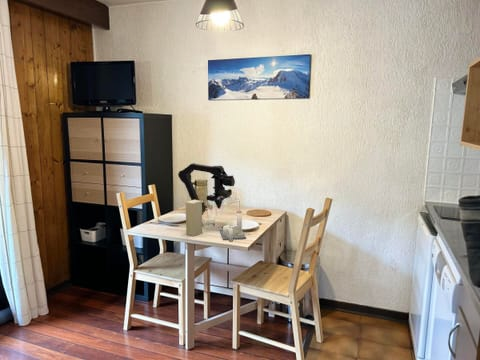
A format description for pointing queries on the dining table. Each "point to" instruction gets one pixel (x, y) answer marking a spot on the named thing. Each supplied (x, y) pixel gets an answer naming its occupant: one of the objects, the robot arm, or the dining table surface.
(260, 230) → the dining table surface
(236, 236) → the board
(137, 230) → the dining table surface
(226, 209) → the dining table surface
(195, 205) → the toy refrigerator
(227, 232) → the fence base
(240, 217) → the fence post
